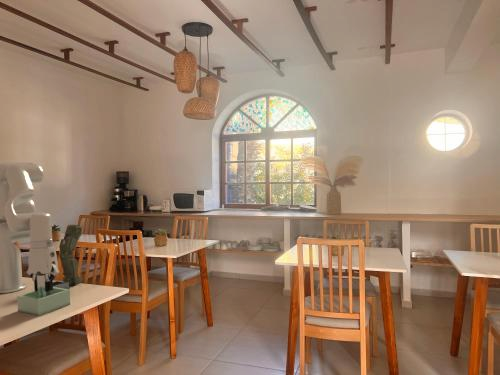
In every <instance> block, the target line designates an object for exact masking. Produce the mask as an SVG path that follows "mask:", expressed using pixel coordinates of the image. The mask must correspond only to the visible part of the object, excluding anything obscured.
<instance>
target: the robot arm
mask: <svg viewBox="0 0 500 375" xmlns="http://www.w3.org/2000/svg"><path fill="white" fill-rule="evenodd" d="M44 172H45V171H44V169H43V168H42V166H41V165H39V164H37V163H33V162H18V161H17V162H14V161H9V162H8V161H1V162H0V220H5V221H6V222H2V223H1V222H0V294H9V293H13V292H17V291H18V292H19V291H21V290H23V289H25V288H26V287H27V283H24V282H23V274H22V273H23V271H22V256H21V254H22V253H21V250H20V248H19V246H17V245H16V244H15V243H17V242H22V241H23V242H24V241H29V243H30V244H29V246H30V248H29V252H28V265H27V266H28V268H27V270H26V274H27V275H29V276H30V278H31V279H32V282H33V287H34V288H33V289H34V291H37V275H36V274H37V271H40V272H41V274H45V277H46V282H45V289H46V292H48V291H51V290H53V282H54V280H55V278H56V277H57V275H59V274H60V270H59V262H58V255H57V251H56V248H55V247H54V245H55V242H54V241H53V229H52V226H53V225H52V214H50V213H47V212H44V211H36V210H37V209H36V204H35V202H34V200H32V199H33V198H34V196H35V195H36V189H35V187H34V184H40V183H42V182H43V181H44V179H45V173H44ZM49 274H50V277H49Z"/></svg>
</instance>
